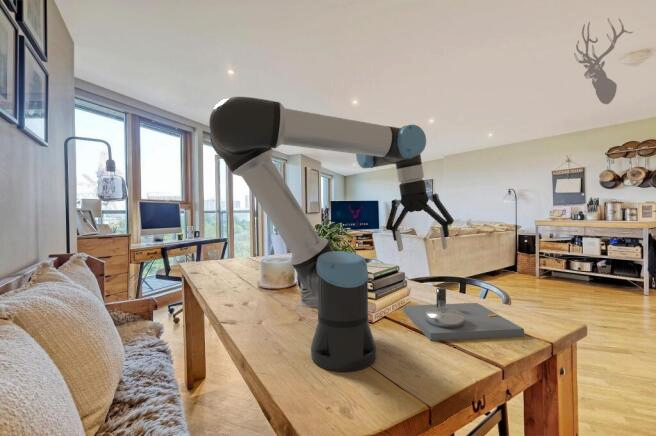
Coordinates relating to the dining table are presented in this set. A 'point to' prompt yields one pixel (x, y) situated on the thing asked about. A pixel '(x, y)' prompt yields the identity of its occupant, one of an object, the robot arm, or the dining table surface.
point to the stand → (465, 323)
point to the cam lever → (444, 313)
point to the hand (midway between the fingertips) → (422, 249)
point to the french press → (308, 298)
